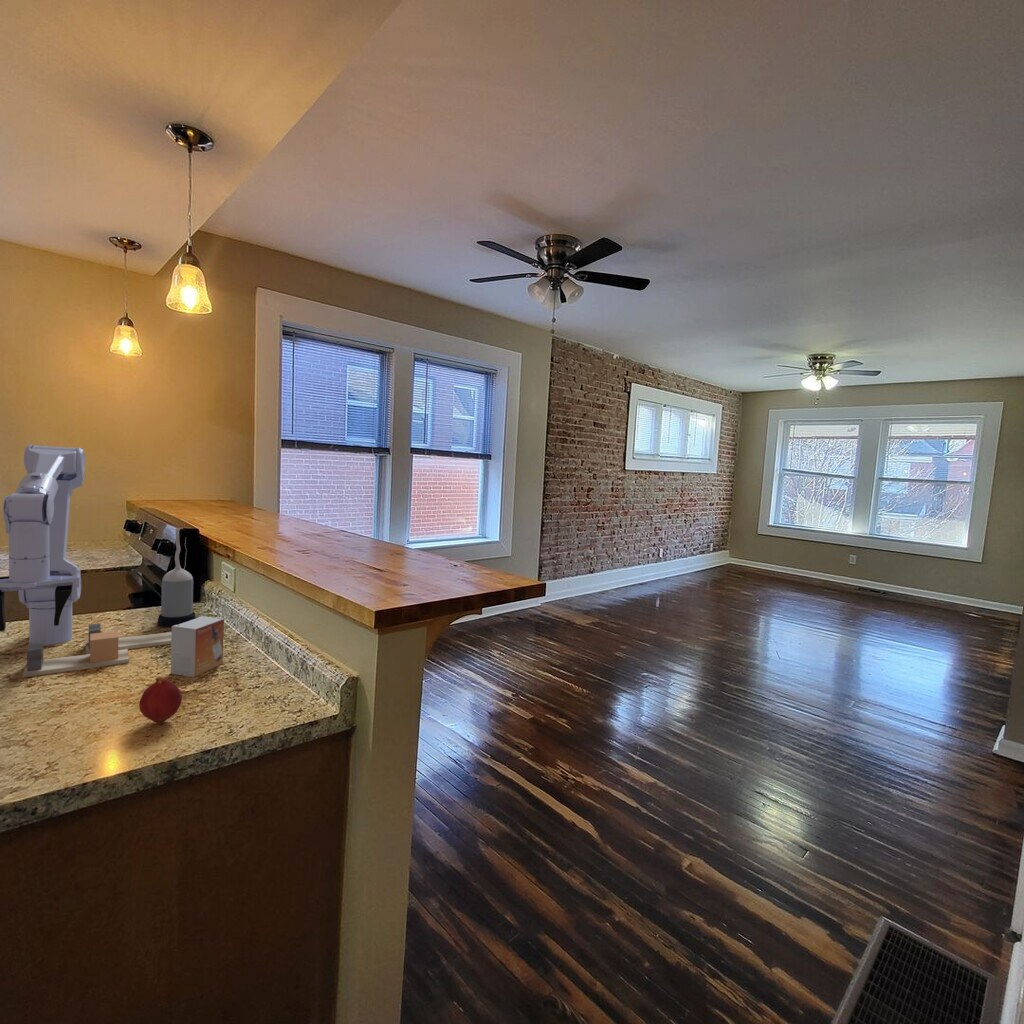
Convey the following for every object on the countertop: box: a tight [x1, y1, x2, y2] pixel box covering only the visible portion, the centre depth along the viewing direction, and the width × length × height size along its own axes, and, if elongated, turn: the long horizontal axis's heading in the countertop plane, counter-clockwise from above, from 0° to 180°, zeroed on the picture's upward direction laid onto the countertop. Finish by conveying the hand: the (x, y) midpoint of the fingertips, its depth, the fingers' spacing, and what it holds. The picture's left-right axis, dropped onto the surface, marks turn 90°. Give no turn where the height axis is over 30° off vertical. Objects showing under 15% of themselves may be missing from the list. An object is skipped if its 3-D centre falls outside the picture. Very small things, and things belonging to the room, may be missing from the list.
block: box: [90, 630, 119, 662], centre depth 109 cm, size 4×4×4 cm
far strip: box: [84, 622, 172, 655], centre depth 119 cm, size 6×16×5 cm, turn 128°
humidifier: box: [156, 528, 197, 629], centre depth 134 cm, size 8×8×25 cm
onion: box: [138, 676, 183, 725], centre depth 88 cm, size 6×6×8 cm
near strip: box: [22, 641, 130, 678], centre depth 106 cm, size 6×16×5 cm, turn 128°
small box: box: [170, 615, 225, 678], centre depth 108 cm, size 8×6×10 cm
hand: (30, 626), depth 102 cm, fingers open, 7 cm apart
